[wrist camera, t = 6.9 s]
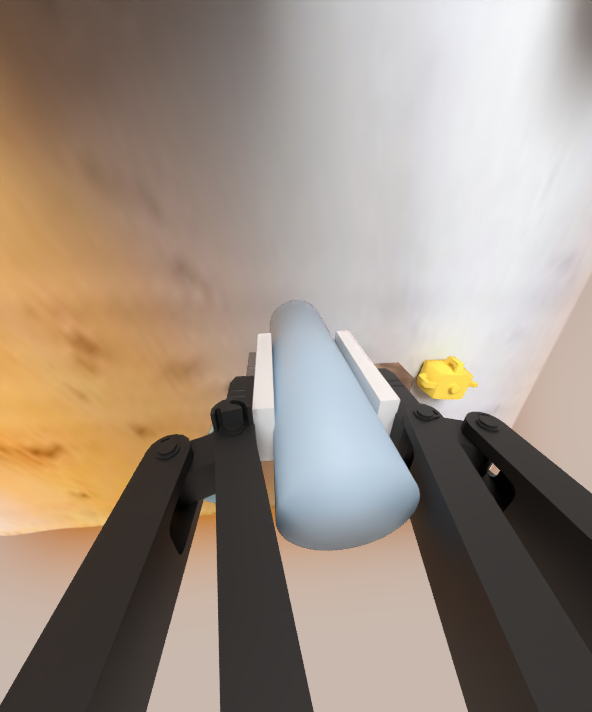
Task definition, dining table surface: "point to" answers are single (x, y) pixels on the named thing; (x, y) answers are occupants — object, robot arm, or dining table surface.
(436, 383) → the teapot
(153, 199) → the dining table surface
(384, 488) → the peg
